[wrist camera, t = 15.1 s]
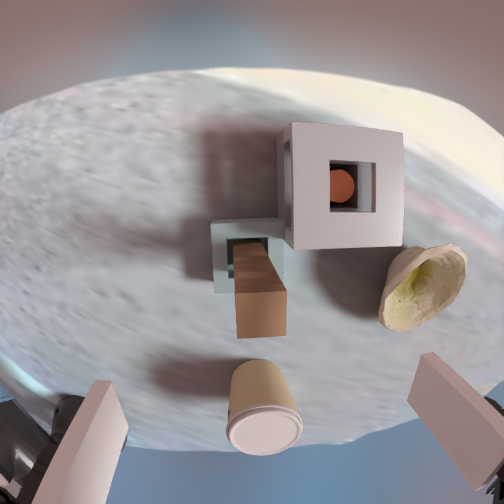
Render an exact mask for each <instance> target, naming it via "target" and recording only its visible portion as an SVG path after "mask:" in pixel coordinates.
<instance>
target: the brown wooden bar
mask: <svg viewBox="0 0 504 504" xmlns="http://www.w3.org/2000/svg"><path fill="white" fill-rule="evenodd" d="M233 264H234V286H235V305H236V324H237V339H241V338H259V337H274V336H286V304H287V291H286V289H285V287H284V285H283V283H282V281H281V279H280V277H279V275H278V273H277V272H276V270H275V268H274V266H273V264H272V262H271V260H270V258H269V256H268V254H267V253H266V251H265V249H264V247H263V245H262V243H261V241H260V239H233Z"/></svg>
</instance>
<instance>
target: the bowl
mask: <svg viewBox="0 0 504 504" xmlns="http://www.w3.org/2000/svg"><path fill="white" fill-rule="evenodd" d="M466 263H467V254H466V253H463V252H462V251H461V249H460V248H459V247H458V246H455V245H454V244H451V243H448V244H446V245H442V246H436V247H432V248H428V249H424V248H422V247H418V246H415V247H410V248H407V249H405V250H403V251H402V252H401V253H400V254H399V255H397V256H396V257H395V258H394V260H393V261H392V263H391V265H390V266H389V269H388V272H387V281H386V284H385V287H384V290H383V294H382V297H381V304H380V307H379V312H378V314H379V316H378V319H379V321H380V323H381V324H382V325H383V326H384V327H385V328H387V329H391V330H392V331H399V332H403V331H406V330H410V329H412V328H414V327H417V326H419V325H421V324H422V323H424V322H426V321H428V320H430V319H431V318H433V317H435V316H436V315H438V314H439V313H440V312H441V311H442V310H443V309H445V308H446V307H448V306H449V305H450V304H451V303H452V302H453V301H454V300H455V298H456V297H457V295H458V293H459V291H460V289H461V287H462V285H463V283H464V280H465V276H466Z"/></svg>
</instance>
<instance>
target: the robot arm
mask: <svg viewBox="0 0 504 504" xmlns="http://www.w3.org/2000/svg"><path fill="white" fill-rule="evenodd" d="M407 401H408V403H409V404H410V405H411V407H412V408H413V409H414V410H415V412H416V413H417V414H418V416H419V417H420V418H421V419H422V421H423V422H424V423H425V424H426V426H427V427H428V429H429V430H430V431H431V433H432V434H433V435H434V436H435V438H436V439H437V440H438V442H439V443H440V444H441V446H442V447H443V448H444V450H445V451H446V452H447V454H448V455H449V456H450V458H451V459H452V460H453V462H454V463H455V465H456V466H457V467H458V469H459V470H460V471H461V472H462V474H463V475H464V477H465V478H466V480H467V481H468V482H469V484H470V485H471V486H472V488H473V489H474V491H477V490H479V489H480V488H482V487H483V486H485V485H486V484H488V483H489V481H490V480H491V479H492V478H493V477H494V476H495V475H497V476H498V478H497V479H496V480H495V481H494V482H493V484H492V485H491V486H490V487H489V488H488V489H487V492H486V494H488V493H489V492H490V491H491V490H492V489H493V488H494V487H495V489H494V490H493V491H492V493H491V494H494V498H493V504H504V409H502V407H501V406H500V405H499V404H498V403H497V402H496V401H494V400H492V399H490V398H488V397H484V398H483V397H482V396H481V395H480V394H479V393H478V392H477V391H476V390H475V389H474V388H473V387H472V386H471V385H469V384H468V383H467V382H466V381H465V380H464V379H463V378H462V377H461V376H460V375H459V374H457V373H456V372H455V371H454V370H453V369H452V368H451V367H450V366H449V365H448V364H446V363H445V362H444V361H443V360H442V359H441V358H440V357H439V356H437V355H436V354H435V353H434V352H431V353H427V354H424V355H421V357H420V361H419V364H418V368H417V371H416V374H415V378H414V381H413V384H412V387H411V390H410V393H409V396H408V399H407ZM128 428H129V426H128V424H127V421H126V419H125V416H124V414H123V411H122V408H121V406H120V403H119V400H118V397H117V394H116V392H115V389H114V386H113V383H112V381H106V380H95V382H94V383H93V385H92V387H91V389H90V390H89V392H88V394H87V395H86V397H85V398H83V397H78V396H67V397H64V398H63V399H61V400H60V402H59V403H58V405H57V406H56V408H55V411H54V417H53V424H52V432H51V435H49V434H48V433H47V432H46V431H45V430H44V429H43V428H42V427H41V426H40V425H39V424H38V423H37V422H36V421H35V420H34V419H33V418H32V417H31V416H30V415H29V414H28V413H27V412H26V410H25V409H24V408H23V407H22V406H21V405H20V404H19V402H18V401H17V400H16V398H15V396H12V394H11V393H10V392H9V391H8V390H7V389H6V388H5V387H4V385H3V384H2V383H1V382H0V485H7V486H8V485H9V483H10V482H11V480H12V479H14V480H15V481H16V482H17V483H18V484H19V485H20V486H21V488H20V493H19V495H18V497H17V498H16V499H15V498H14V497H13V496H12V495H11V494H10V493H9V492H8V491H7V490H6V489H4V488H2V487H0V504H105V503H106V499H107V495H108V492H109V488H110V485H111V482H112V478H113V475H114V472H115V469H116V465H117V462H118V459H119V456H120V453H121V452H122V451H123V449H124V447H125V444H126V441H127V431H128Z"/></svg>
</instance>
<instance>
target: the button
mask: <svg viewBox="0 0 504 504" xmlns="http://www.w3.org/2000/svg"><path fill="white" fill-rule="evenodd" d="M353 192H354V181H353V178H352V177H351V175H350V174H349V173H347V172H346V171H344V170H330V201H333V202H345V201H347V200H348V199H349V198H350V197H351V196H352V194H353Z"/></svg>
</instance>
